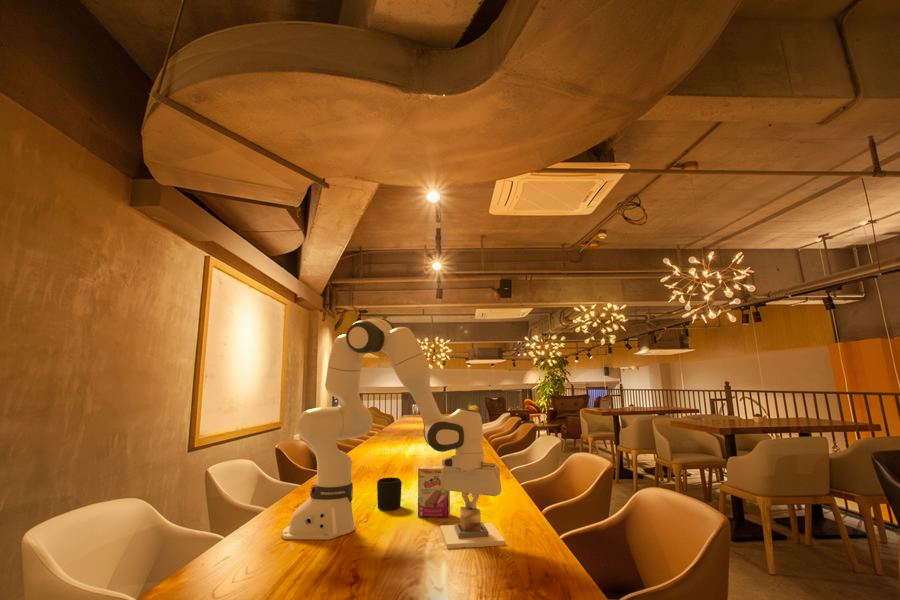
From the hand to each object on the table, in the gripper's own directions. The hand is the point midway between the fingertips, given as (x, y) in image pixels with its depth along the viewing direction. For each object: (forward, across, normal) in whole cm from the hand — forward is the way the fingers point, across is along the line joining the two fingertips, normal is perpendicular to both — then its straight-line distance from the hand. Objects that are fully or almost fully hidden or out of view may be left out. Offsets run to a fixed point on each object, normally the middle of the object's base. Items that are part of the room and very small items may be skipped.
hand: (470, 508), depth 136 cm
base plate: (+8, 0, 0) cm, 8 cm away
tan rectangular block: (+7, 0, 0) cm, 7 cm away
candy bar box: (+8, +23, -13) cm, 27 cm away
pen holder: (+8, +44, -13) cm, 46 cm away
